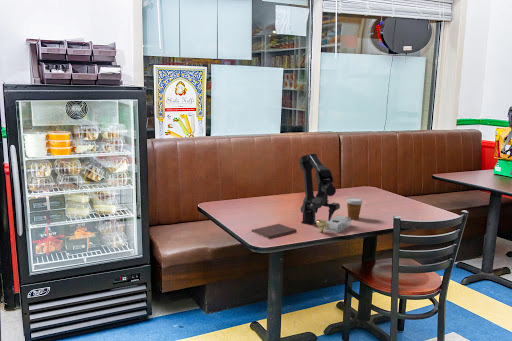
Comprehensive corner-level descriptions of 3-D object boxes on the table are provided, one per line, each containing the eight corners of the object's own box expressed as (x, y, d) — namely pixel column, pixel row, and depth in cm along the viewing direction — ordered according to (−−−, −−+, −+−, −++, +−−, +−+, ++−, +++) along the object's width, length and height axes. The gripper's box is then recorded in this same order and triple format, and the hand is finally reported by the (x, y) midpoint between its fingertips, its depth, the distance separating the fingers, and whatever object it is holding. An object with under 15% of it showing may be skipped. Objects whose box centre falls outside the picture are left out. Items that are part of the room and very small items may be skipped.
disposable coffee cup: (343, 219, 289) (344, 200, 286) (347, 215, 297) (348, 196, 295) (359, 221, 285) (360, 202, 283) (362, 217, 293) (364, 198, 291)
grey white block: (324, 230, 267) (324, 222, 266) (337, 222, 282) (338, 215, 281) (337, 233, 263) (337, 225, 262) (350, 225, 277) (350, 217, 277)
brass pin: (314, 232, 263) (315, 221, 262) (318, 230, 267) (319, 218, 266) (323, 234, 260) (323, 222, 259) (327, 231, 265) (327, 220, 263)
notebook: (251, 232, 263) (251, 228, 262) (278, 226, 275) (278, 222, 275) (269, 239, 251) (269, 236, 251) (296, 232, 263) (296, 229, 263)
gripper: (300, 191, 258) (299, 219, 261) (332, 197, 248) (330, 226, 251) (310, 188, 267) (308, 215, 270) (341, 193, 257) (339, 221, 260)
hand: (321, 219), depth 263 cm, fingers open, 9 cm apart
